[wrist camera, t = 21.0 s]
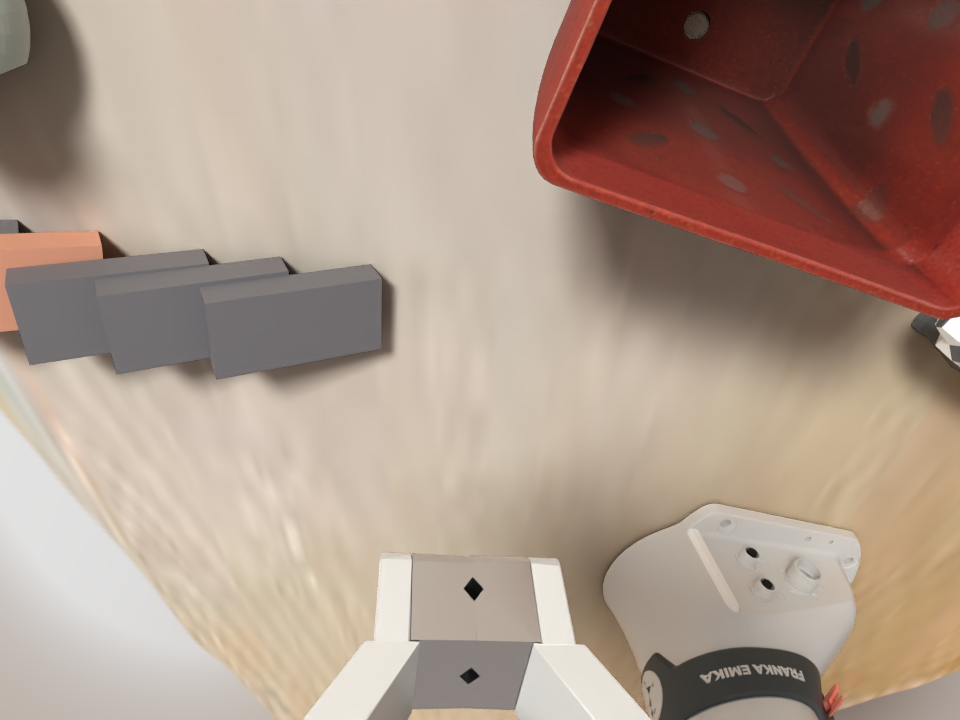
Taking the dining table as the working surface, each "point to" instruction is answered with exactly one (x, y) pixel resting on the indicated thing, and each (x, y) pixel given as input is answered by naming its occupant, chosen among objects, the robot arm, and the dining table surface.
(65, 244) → the domino
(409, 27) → the dining table surface
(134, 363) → the domino
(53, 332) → the domino
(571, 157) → the plant pot
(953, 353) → the giant panda
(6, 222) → the domino
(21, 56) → the air freshener
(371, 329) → the domino
